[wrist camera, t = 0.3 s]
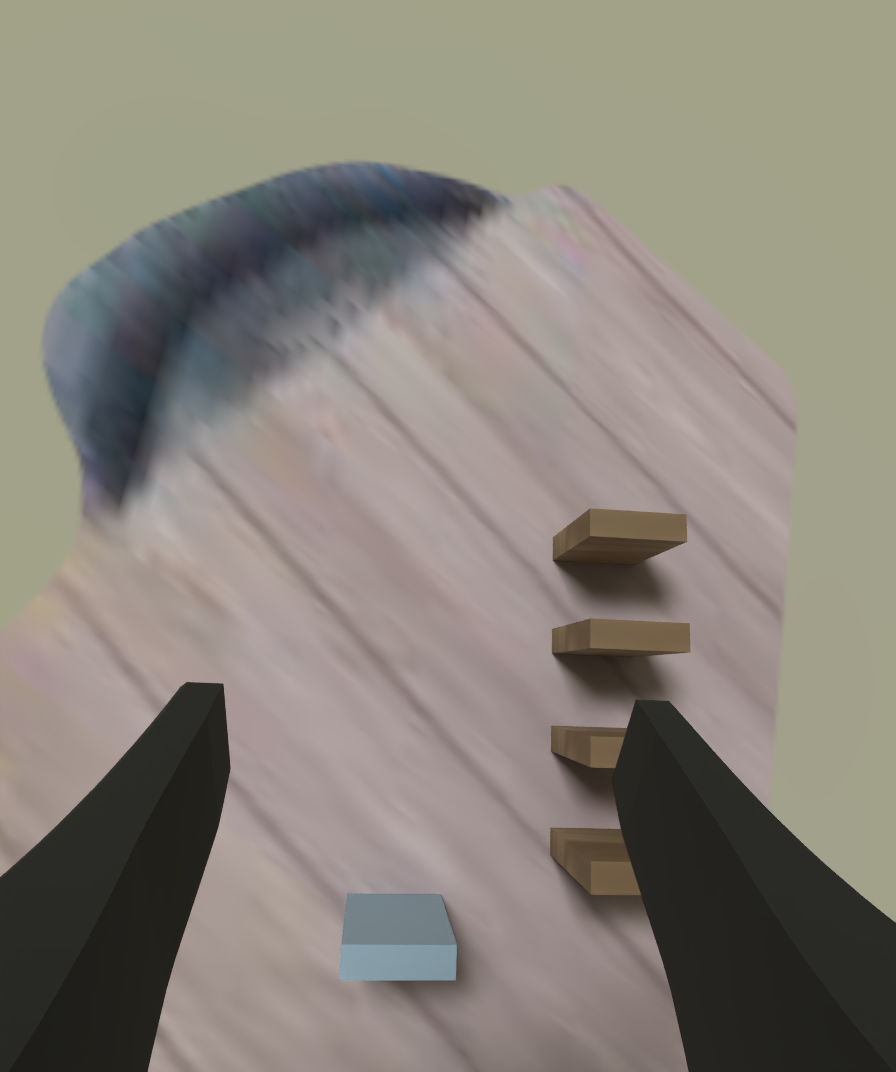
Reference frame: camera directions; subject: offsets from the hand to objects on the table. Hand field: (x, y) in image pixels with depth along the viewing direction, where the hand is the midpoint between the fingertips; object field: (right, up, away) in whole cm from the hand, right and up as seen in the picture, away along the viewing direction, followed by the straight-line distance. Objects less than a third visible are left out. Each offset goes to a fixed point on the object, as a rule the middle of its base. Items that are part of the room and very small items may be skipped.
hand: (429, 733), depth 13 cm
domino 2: (+9, +3, +31) cm, 32 cm away
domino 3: (+9, -3, +29) cm, 31 cm away
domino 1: (-3, -16, +25) cm, 30 cm away
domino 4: (+9, -8, +28) cm, 31 cm away
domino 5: (+8, -14, +27) cm, 32 cm away
